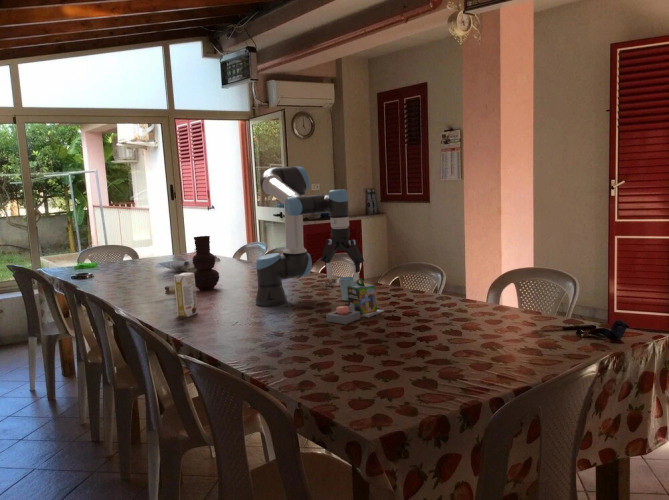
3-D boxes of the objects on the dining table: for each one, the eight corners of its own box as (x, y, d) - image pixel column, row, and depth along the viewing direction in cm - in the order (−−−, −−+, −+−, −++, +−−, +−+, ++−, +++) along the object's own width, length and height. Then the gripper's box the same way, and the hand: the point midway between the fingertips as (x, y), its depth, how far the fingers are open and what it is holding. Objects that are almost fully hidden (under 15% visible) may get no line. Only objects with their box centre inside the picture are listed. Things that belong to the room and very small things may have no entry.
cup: (359, 299, 273) (357, 278, 272) (344, 301, 270) (343, 280, 269) (352, 296, 280) (350, 275, 279) (337, 299, 277) (336, 278, 276)
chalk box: (377, 311, 246) (376, 277, 244) (360, 315, 241) (358, 280, 239) (365, 307, 254) (363, 274, 252) (348, 311, 249) (346, 278, 247)
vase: (226, 288, 321) (221, 235, 317) (206, 293, 308) (201, 238, 305) (206, 286, 330) (201, 234, 326) (186, 292, 317) (181, 238, 313)
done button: (334, 314, 236) (333, 307, 236) (342, 311, 240) (341, 305, 240) (344, 316, 233) (343, 309, 233) (351, 313, 237) (351, 306, 237)
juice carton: (200, 312, 265) (196, 272, 262) (188, 317, 257) (184, 275, 254) (187, 312, 268) (183, 272, 265) (174, 316, 260) (171, 275, 258)
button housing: (326, 321, 236) (326, 314, 236) (341, 315, 244) (341, 309, 244) (345, 324, 230) (345, 317, 230) (360, 318, 238) (359, 311, 237)
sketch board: (342, 313, 248) (341, 312, 247) (358, 307, 257) (358, 306, 257) (368, 317, 239) (368, 316, 239) (384, 311, 248) (384, 310, 248)
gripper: (310, 228, 237) (313, 278, 240) (360, 229, 222) (362, 282, 225) (321, 226, 243) (324, 275, 246) (370, 227, 228) (373, 279, 231)
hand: (342, 279), depth 235 cm, fingers open, 13 cm apart
